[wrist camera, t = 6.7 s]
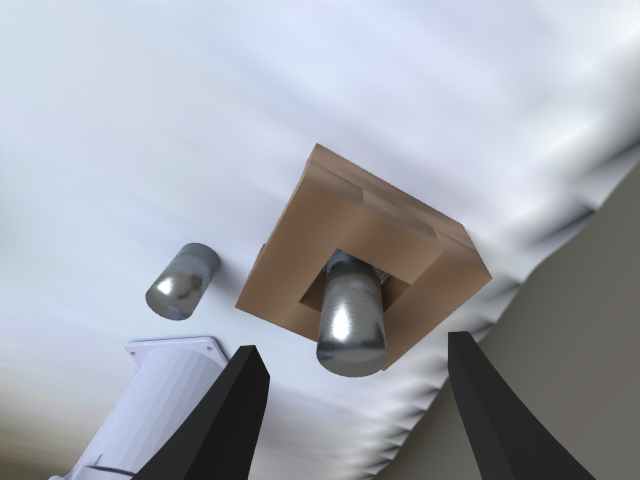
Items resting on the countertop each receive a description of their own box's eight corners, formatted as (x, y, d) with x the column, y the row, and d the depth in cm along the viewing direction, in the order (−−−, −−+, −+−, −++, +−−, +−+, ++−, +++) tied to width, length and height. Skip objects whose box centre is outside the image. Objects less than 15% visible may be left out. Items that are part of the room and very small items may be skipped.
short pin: (225, 272, 21) (200, 318, 17) (191, 276, 21) (159, 322, 18) (210, 240, 19) (179, 283, 16) (173, 245, 20) (136, 288, 16)
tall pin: (379, 252, 18) (392, 374, 12) (337, 259, 19) (327, 379, 12) (371, 214, 17) (380, 328, 10) (326, 223, 18) (307, 336, 11)
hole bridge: (462, 224, 17) (492, 278, 13) (379, 311, 21) (384, 370, 17) (316, 142, 15) (303, 177, 11) (258, 254, 19) (234, 307, 16)
